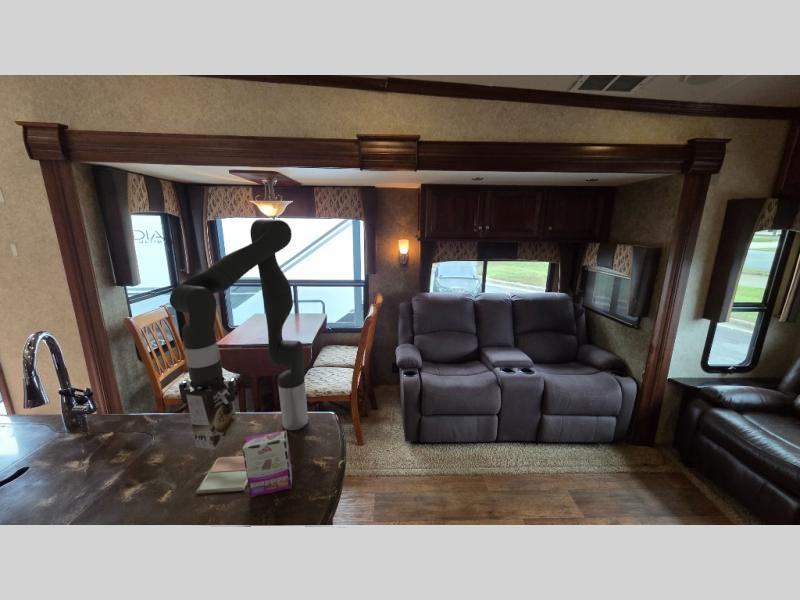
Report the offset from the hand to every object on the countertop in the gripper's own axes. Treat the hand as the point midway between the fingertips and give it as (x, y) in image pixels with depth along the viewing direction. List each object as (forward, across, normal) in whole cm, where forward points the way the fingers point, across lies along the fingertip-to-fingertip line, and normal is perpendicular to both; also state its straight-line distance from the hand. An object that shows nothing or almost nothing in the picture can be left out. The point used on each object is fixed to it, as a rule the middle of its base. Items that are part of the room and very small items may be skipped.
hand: (213, 414), depth 86 cm
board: (+23, 0, -3) cm, 23 cm away
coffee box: (+8, 0, 0) cm, 8 cm away
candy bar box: (+23, -14, +3) cm, 27 cm away
